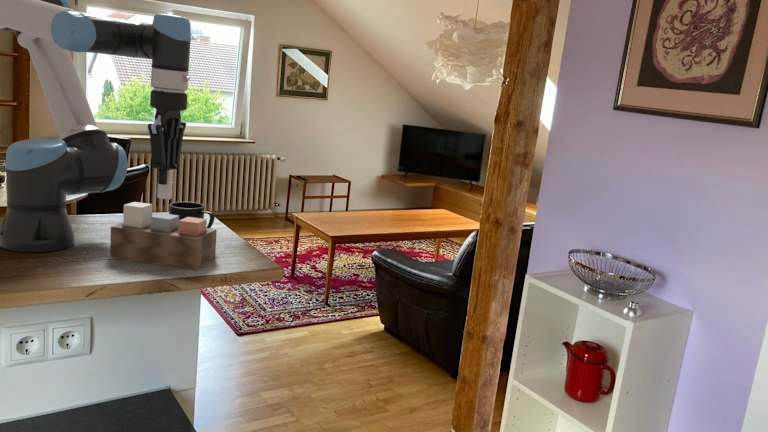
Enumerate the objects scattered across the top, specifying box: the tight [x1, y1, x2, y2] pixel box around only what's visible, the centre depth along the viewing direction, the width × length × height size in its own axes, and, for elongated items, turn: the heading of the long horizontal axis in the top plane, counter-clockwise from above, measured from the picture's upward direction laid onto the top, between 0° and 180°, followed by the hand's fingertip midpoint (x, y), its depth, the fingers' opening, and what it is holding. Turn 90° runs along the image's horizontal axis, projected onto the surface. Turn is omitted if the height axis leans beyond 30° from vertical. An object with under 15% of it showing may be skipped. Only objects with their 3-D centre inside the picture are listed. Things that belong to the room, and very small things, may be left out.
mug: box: [168, 201, 216, 229], centre depth 155 cm, size 8×12×10 cm
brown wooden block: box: [109, 221, 217, 271], centre depth 142 cm, size 20×10×7 cm, turn 82°
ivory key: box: [122, 201, 153, 228], centre depth 142 cm, size 4×4×7 cm
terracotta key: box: [179, 217, 208, 236], centre depth 141 cm, size 4×4×7 cm
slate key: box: [151, 212, 179, 232], centre depth 142 cm, size 4×4×7 cm
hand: (164, 198), depth 140 cm, fingers closed
